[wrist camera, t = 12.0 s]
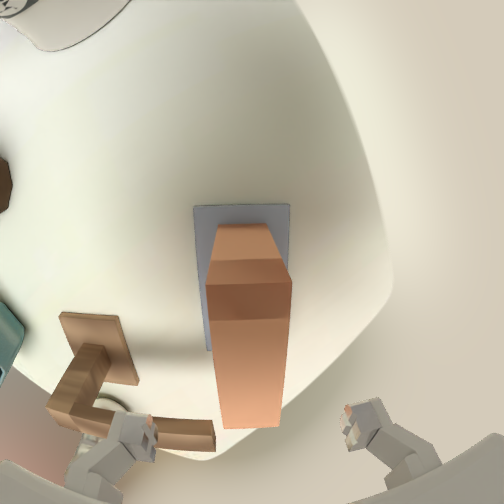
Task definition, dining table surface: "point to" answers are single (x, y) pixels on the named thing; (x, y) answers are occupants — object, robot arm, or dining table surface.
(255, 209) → the felt mat
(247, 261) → the c link
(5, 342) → the flower pot
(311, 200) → the dining table surface
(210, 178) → the dining table surface
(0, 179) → the beer bottle
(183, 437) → the brown wooden angular piece
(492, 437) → the robot arm
